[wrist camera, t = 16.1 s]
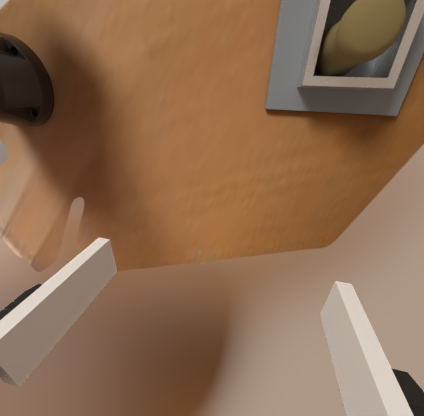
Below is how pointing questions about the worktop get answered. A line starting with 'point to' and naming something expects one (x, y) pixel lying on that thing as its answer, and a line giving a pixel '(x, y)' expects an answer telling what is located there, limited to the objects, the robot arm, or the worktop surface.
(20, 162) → the worktop surface
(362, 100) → the base plate
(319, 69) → the cork
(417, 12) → the metal collar
